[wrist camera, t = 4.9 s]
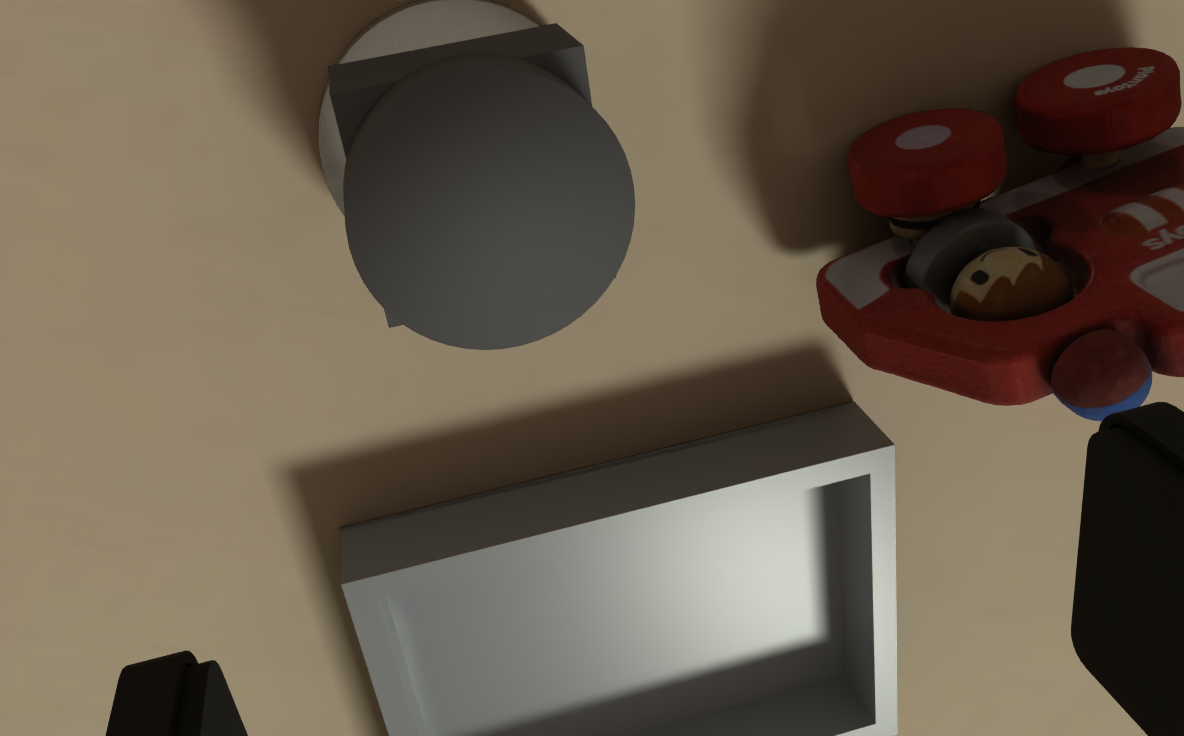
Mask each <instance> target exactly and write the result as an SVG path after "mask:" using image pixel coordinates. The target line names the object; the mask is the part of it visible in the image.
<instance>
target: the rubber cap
mask: <svg viewBox="0 0 1184 736" xmlns="http://www.w3.org/2000/svg"><path fill="white" fill-rule="evenodd" d="M328 73H329V92H330V98H331V102H332V106H333V110H334V114H335V117H336V121H337V125H338V129H339V133H340V137H341V141H342V145H343V149H344V153H345V157H346V164H345V169H344V180H343V195H344V211H345V225H346V233H347V238H348V244H349V249H350V252H351V255H352V258H353V260H354V263H355V266H356V268H357V270H358V272H359V274H360V276H361V278H362V280H363V282H364V284H365V285H366V287H367V288H368V289H369V291H370V292H371V294H372V295H373V297H374V298H375V299H376V300H377V301H378V302H379V303H380V305H381V306H382V307H383V308H384V310H385V314H386V318H387V322H388V326H389V328H391V327H395V326H400V325H405V326H406V327H408V328H410V329H411V330H413V331H414V332H416V333H418V334H420V335H423V336H425V337H427V338H429V339H431V340H434V341H437V342H440V343H443V344H446V345H450V346H455V347H460V348H465V349H478V350H491V349H504V348H510V347H516V346H521V345H524V344H528V343H531V342H535V341H538V340H540V339H542V338H545V337H547V336H549V335H552V334H554V333H555V332H557V331H559V330H561V329H563V328H564V327H566V326H568V325H569V324H571V323H572V322H573V321H575V320H576V319H577V318H579V317H580V316H581V315H583V314H584V313H585V312H586V311H587V310H588V309H589V308H590V307H591V306H592V305H593V304H595V303H596V301H597V300H598V299H599V298H600V297H601V295H602V294H603V293H604V292H605V291H606V289H607V288H608V287H609V285H610V284H611V282H612V280H613V279H614V278H616V274H617V272H618V270H619V268H620V266H621V264H622V262H623V260H624V258H625V255H626V252H627V249H628V246H629V243H630V240H631V235H632V230H633V225H634V214H635V196H634V185H633V180H632V175H631V170H630V167H629V164H628V161H627V158H626V156H625V153H624V151H623V149H622V147H621V145H620V143H619V141H618V139H617V137H616V136H615V134H614V133H613V131H612V130H611V128H610V127H609V125H608V124H607V122H606V121H605V120H604V119H603V118H602V117H601V116H600V115H599V114H598V112H597V111H596V110H595V109H594V108H593V107H592V103H591V95H590V88H589V81H588V74H587V67H586V60H585V53H584V46H583V45H582V44H581V43H580V42H579V41H577V40H576V39H575V38H574V37H572V36H571V35H570V34H569V33H568V32H566V31H565V30H564V29H563V28H561V27H560V26H559V25H558V24H556V23H555V24H550V25H544V26H539V27H534V28H528V29H523V30H518V31H512V32H507V33H502V34H496V35H491V36H486V37H480V38H475V39H470V40H465V41H459V42H454V43H449V44H443V45H438V46H433V47H427V48H422V49H417V50H411V51H406V52H401V53H395V54H390V55H385V56H380V57H374V58H369V59H364V60H358V61H353V62H348V63H342V64H337V65H332V66H328Z"/></svg>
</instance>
